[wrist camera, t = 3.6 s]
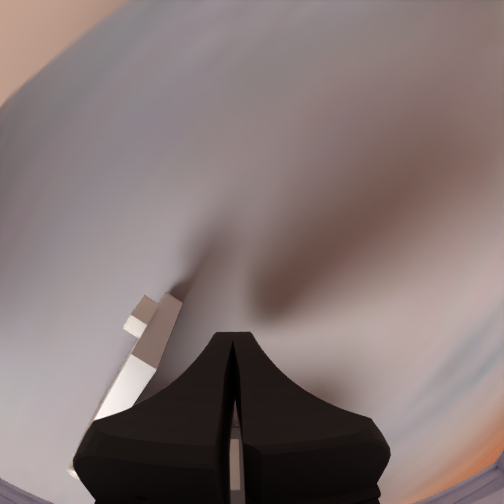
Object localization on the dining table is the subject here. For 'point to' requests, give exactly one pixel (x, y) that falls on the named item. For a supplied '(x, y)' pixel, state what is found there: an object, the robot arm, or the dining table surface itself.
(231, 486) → the camera case
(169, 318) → the side door
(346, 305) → the dining table surface
